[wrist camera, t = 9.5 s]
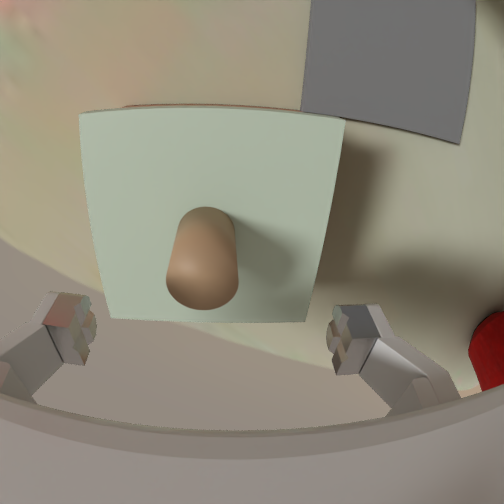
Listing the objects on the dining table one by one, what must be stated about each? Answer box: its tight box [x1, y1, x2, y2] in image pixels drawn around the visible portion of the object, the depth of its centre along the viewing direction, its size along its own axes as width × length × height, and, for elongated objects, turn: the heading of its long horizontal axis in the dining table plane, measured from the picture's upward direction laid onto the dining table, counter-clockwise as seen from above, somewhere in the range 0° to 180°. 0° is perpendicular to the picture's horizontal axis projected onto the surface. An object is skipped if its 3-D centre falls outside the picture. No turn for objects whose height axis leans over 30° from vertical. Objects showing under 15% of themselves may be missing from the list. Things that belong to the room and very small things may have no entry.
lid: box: [79, 106, 346, 323], centre depth 14 cm, size 12×12×5 cm
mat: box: [300, 0, 475, 144], centre depth 16 cm, size 13×13×1 cm
